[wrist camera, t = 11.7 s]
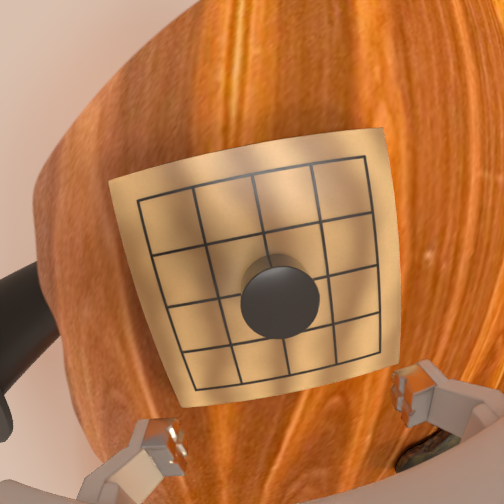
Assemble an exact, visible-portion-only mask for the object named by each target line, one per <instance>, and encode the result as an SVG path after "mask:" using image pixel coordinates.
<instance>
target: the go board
mask: <svg viewBox="0 0 504 504" xmlns="http://www.w3.org/2000/svg"><path fill="white" fill-rule="evenodd" d="M108 184H109V189H110V194H111V198H112V203H113V207H114V211H115V216H116V220H117V224H118V228H119V232H120V236H121V240H122V243H123V247H124V251H125V254H126V258H127V261H128V265H129V268H130V272H131V275H132V278H133V282H134V285H135V288H136V291H137V294H138V297H139V300H140V303H141V306H142V309H143V312H144V315H145V318H146V321H147V324H148V327H149V329H150V332H151V335H152V337H153V340H154V343H155V345H156V348H157V351H158V353H159V356H160V358H161V361H162V363H163V366H164V368H165V371H166V373H167V375H168V378H169V380H170V383H171V385H172V387H173V390H174V392H175V394H176V396H177V399H178V401H179V403H180V405H181V407H182V408H186V407H198V406H207V405H216V404H225V403H232V402H239V401H246V400H253V399H259V398H265V397H270V396H276V395H281V394H286V393H291V392H296V391H301V390H305V389H310V388H314V387H318V386H322V385H326V384H330V383H334V382H338V381H342V380H346V379H349V378H353V377H356V376H360V375H363V374H367V373H370V372H373V371H376V370H380V369H383V368H386V367H389V366H392V365H395V364H398V363H399V352H400V329H401V276H400V253H399V238H398V226H397V215H396V206H395V197H394V189H393V182H392V175H391V168H390V162H389V156H388V150H387V145H386V140H385V134H384V129H383V127H381V128H368V129H356V130H346V131H337V132H328V133H320V134H313V135H305V136H298V137H292V138H285V139H279V140H273V141H267V142H261V143H256V144H251V145H245V146H240V147H235V148H230V149H225V150H221V151H216V152H212V153H207V154H203V155H199V156H194V157H190V158H186V159H182V160H178V161H174V162H170V163H166V164H163V165H159V166H155V167H152V168H148V169H145V170H141V171H138V172H134V173H131V174H128V175H124V176H121V177H118V178H115V179H112V180H109V181H108ZM272 254H283V255H287V256H290V257H293V258H295V259H296V260H298V261H299V262H300V263H301V264H302V265H303V266H304V267H305V268H306V270H307V271H308V273H309V274H310V276H311V277H312V279H313V280H314V282H315V283H316V285H317V287H318V290H319V294H320V307H319V311H318V314H317V316H316V318H315V320H314V321H313V323H312V324H311V325H310V326H309V327H308V328H307V329H306V330H305V331H303V332H302V333H300V334H298V335H296V336H294V337H291V338H287V339H270V338H266V337H263V336H261V335H259V334H257V333H255V332H254V331H253V330H252V329H250V327H249V326H248V325H247V324H246V322H245V321H244V319H243V316H242V313H241V308H240V292H241V281H242V278H243V275H244V273H245V272H246V270H247V269H248V267H249V266H250V265H251V264H252V263H253V262H255V261H256V260H258V259H260V258H261V257H264V256H267V255H272Z"/></svg>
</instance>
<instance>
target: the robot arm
mask: <svg viewBox="0 0 504 504" xmlns="http://www.w3.org/2000/svg"><path fill="white" fill-rule="evenodd" d="M392 381H393V383H394V385H393V387H392V388H391V400H392V403H393V406H394V407H395V409H396V410H397V411H400V412H402V413H401V419H402V420H403V422H404V423H405V425H406V426H407V428H410V427H413V426H415V425H418V424H420V423H423V422H425V421H427V422H429V423H431V424H433V425H435V426H437V427H439V428H441V429H443V430H445V431H448V432H450V433H452V434H454V435H456V436H458V437H460V438H461V441H460V443H459V444H458V445H456V446H454V447H452V448H451V449H449V450H447V451H445V452H443V453H441V454H439V455H437V456H435V457H433V458H431V459H429V460H427V461H425V462H423V463H420V464H418V465H416V466H414V467H411V468H409V469H407V470H404V471H402V472H400V473H397V474H395V475H392V476H390V477H387V478H384V479H382V480H379V481H376V482H373V483H370V484H367V485H364V486H361V487H358V488H355V489H352V490H348V491H345V492H342V493H338V494H334V495H330V496H327V497H323V498H318V499H314V500H309V501H305V502H300V503H295V504H504V394H503V393H502V392H501V391H500V390H496V389H491V388H487V387H483V386H479V385H475V384H471V383H467V382H463V381H459V380H455V379H450V380H448V379H447V377H446V376H445V375H444V374H443V373H442V372H441V371H440V370H439V369H438V368H437V367H436V366H435V365H434V364H433V363H432V362H431V361H430V360H429V359H425V360H422V361H420V362H418V363H416V364H413V365H410V366H408V367H405V368H403V369H400V370H397V371H395V372H393V374H392ZM188 449H189V448H188V440H187V437H186V435H185V433H184V432H183V431H181V430H180V423H179V421H178V420H177V419H176V418H158V419H139V420H138V421H137V423H136V425H135V428H134V431H133V434H132V437H131V439H130V442H129V445H128V448H123V449H122V450H121V451H120V452H118V453H117V454H116V455H114V456H113V457H112V458H111V459H109V460H108V461H107V462H105V463H104V464H103V465H101V466H100V467H99V468H98V469H96V470H95V471H94V472H92V473H91V474H89V475H88V476H87V477H86V478H85V479H84V482H83V484H82V486H81V489H80V491H79V494H78V496H77V499H76V500H75V499H71V498H66V497H63V496H59V495H56V494H52V493H48V492H45V491H42V490H39V489H36V488H32V487H30V486H27V485H24V484H22V483H19V482H16V481H13V480H4V481H1V482H0V504H142V502H143V501H144V500H145V499H146V498H147V497H148V496H149V494H150V493H151V492H152V491H153V490H154V489H155V487H156V486H157V485H158V484H159V483H160V482H161V480H162V479H163V478H164V476H185V471H186V464H187V462H186V461H185V459H184V457H185V456H186V455H187V454H188Z"/></svg>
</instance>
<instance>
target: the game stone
mask: <svg viewBox="0 0 504 504" xmlns="http://www.w3.org/2000/svg"><path fill="white" fill-rule="evenodd" d="M319 307H320V294H319V290H318V287H317V285H316V283H315V282H314V280H313V279H312V277H311V276H310V274H309V273H308V271H307V270H306V268H305V267H304V266H303V265H302V264H301V263H300V262H299V261H298V260H296V259H295V258H293V257H290V256H287V255H283V254H272V255H267V256H264V257H261V258H260V259H258V260H256V261H255V262H253V263H252V264H251V265H250V266H249V267H248V269H247V270H246V272H245V273H244V275H243V278H242V281H241V292H240V308H241V313H242V316H243V319H244V321H245V322H246V324H247V325H248V326H249V327H250V329H252V330H253V331H254V332H255V333H257V334H259V335H261V336H263V337H266V338H270V339H287V338H291V337H294V336H296V335H298V334H300V333H302V332H303V331H305V330H306V329H307V328H308V327H309V326H310V325H311V324H312V323H313V321H314V320H315V318H316V316H317V314H318V311H319Z"/></svg>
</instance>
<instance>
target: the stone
mask: <svg viewBox="0 0 504 504" xmlns="http://www.w3.org/2000/svg"><path fill="white" fill-rule="evenodd" d="M460 441H461V438H460V437H458V436H456V435H454V434H452V433H450V432H448V431H445V430H441V431H440V432H439V433H438V434H437V435H435V436H434V437H432V438H430V439H428V440H427V441H425V442H424V443H423V444H421V445H419V446H415V447H413V448H412V449H410V450H408V451H407V452H406V453H405V454H404V455H403V456H402V457H401V458H400V460H399V462H398V463H397V466H396V468H395V471H396V474H397V473H400V472H402V471H404V470H407V469H409V468H411V467H414V466H416V465H418V464H420V463H423V462H425V461H427V460H429V459H431V458H433V457H435V456H437V455H439V454H441V453H443V452H445V451H447V450H449V449H451V448H452V447H454V446H456V445H458V444H459V443H460Z"/></svg>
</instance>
